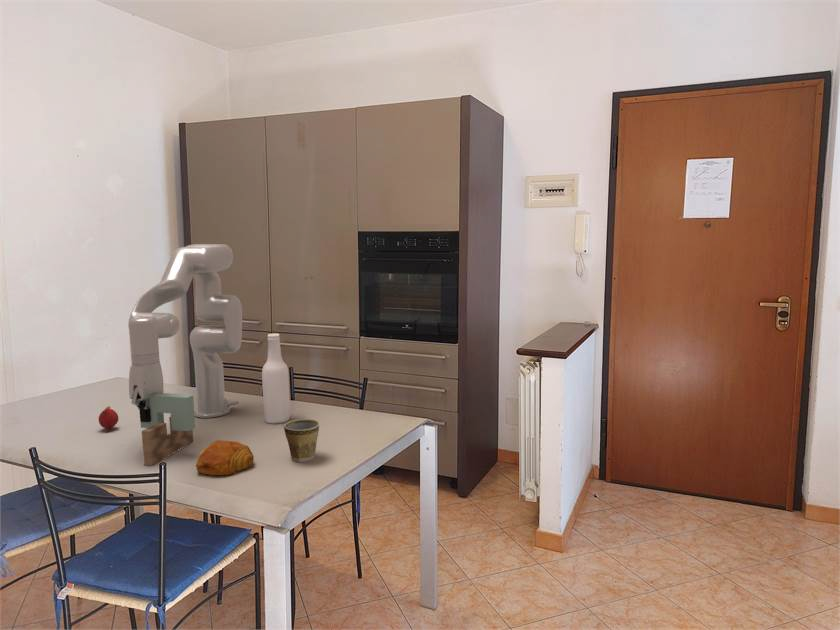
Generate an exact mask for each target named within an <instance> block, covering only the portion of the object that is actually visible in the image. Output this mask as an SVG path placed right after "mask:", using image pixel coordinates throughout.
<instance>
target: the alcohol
mask: <svg viewBox="0 0 840 630" xmlns="http://www.w3.org/2000/svg"><path fill="white" fill-rule="evenodd" d="M280 335H281V334H279V333H268V334H267V360H266V362H265V363H264V365H263V367H262V371H261V381H262V403H263V419H264V421H265V422H266V423H267V424H271V425H273V424H274V425H276V424H278V425H279V424H283V423H287V422H289V420H290V418H291V403H290V402H291V401H290V399H291V397H290V378H289V377H290V376H289V375H290V374H289V368H288V365H287V364H286V362H284V360H283V357H282V348H281V342H280V341H281V340H280V339H281V338H280Z"/></svg>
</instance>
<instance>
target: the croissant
mask: <svg viewBox="0 0 840 630" xmlns="http://www.w3.org/2000/svg"><path fill="white" fill-rule="evenodd" d="M254 457H255V456H254V454H253V452H252V450H251V449H250V447H249V446H248V445H246V444H243V443H242V442H238V441H235V440H223V439H222V440H220V439H219V440H215V441H213V442H211V443H210V444H209V446H207V447H204V448H203V449H202V450H201V452H200V453H199V455H198V459H197V463H196V465H195V467H196V470H197V472H199V473H201V474H203V475H206V474H209V475H208V476H212V475H220V476H230V475H229V474H232V473H235V472H236V473H237V472H241V471H240V470H242V469H243V470H245V469H248V468H250V467H251V466H252V465H253V463H254ZM243 470H242V471H243ZM236 473H235V474H236ZM232 475H233V474H232Z"/></svg>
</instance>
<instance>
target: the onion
mask: <svg viewBox="0 0 840 630" xmlns="http://www.w3.org/2000/svg"><path fill="white" fill-rule="evenodd" d="M118 422H119V415H118V412H116V410H114V409H112V408H111V406H110V405H107V406H106V407H105V409H103V410H102V411H101V412H100V414H99V416H98V423H99V425H100V427H102V428H104V429H106V430H108V431H111V430H112V429H113V427H116V425H117V424H118ZM110 429H111V430H110Z"/></svg>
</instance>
